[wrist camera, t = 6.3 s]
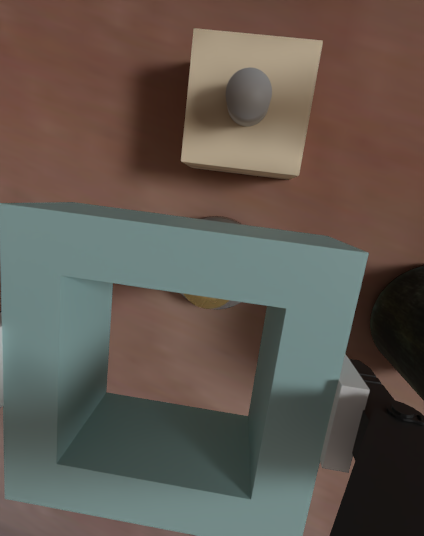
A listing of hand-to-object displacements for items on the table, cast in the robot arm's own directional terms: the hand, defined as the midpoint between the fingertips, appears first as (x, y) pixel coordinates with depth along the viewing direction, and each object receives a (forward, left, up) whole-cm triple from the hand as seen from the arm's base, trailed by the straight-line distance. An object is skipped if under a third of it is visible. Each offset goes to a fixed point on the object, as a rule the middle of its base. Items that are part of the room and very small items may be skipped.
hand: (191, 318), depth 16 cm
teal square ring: (0, 0, +2) cm, 2 cm away
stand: (-12, +1, -14) cm, 19 cm away
